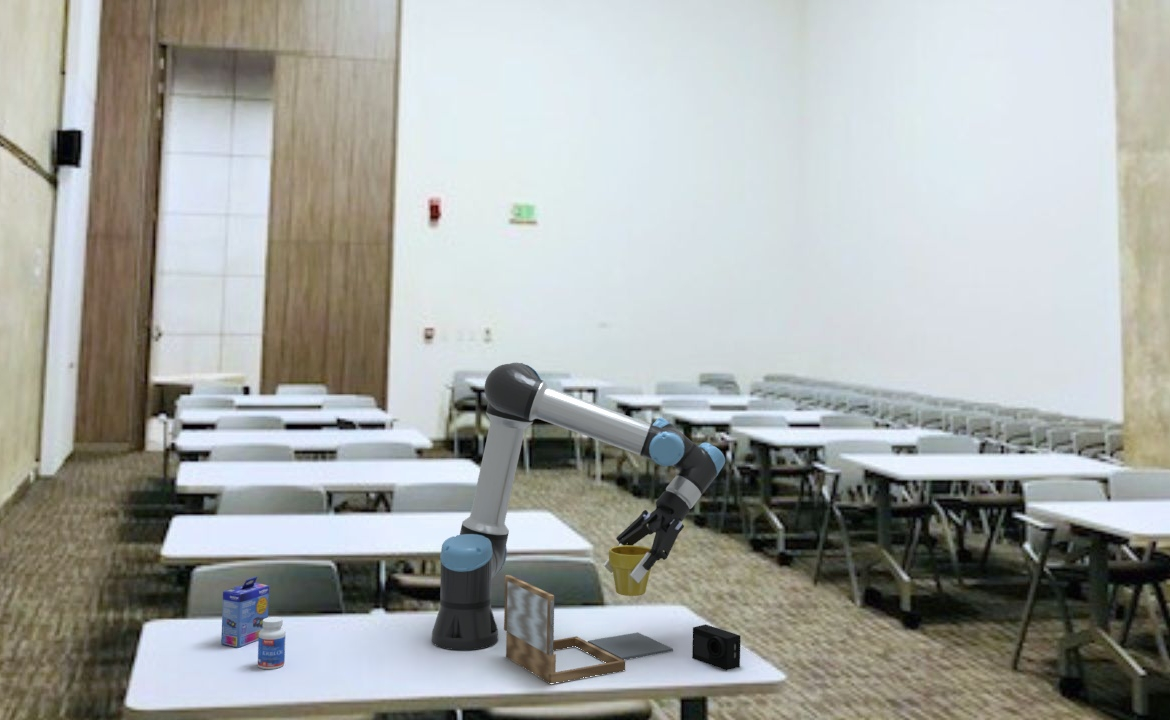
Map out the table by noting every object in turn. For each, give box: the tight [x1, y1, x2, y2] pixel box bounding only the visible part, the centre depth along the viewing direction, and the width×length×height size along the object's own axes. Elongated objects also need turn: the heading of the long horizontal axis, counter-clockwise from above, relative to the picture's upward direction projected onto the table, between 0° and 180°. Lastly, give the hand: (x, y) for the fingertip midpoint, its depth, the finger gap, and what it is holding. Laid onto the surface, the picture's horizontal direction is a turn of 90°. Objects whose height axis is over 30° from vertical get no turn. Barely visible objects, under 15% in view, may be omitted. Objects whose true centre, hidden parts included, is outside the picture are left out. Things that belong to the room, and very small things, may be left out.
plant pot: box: [608, 544, 655, 597], centre depth 222 cm, size 10×10×10 cm
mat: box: [587, 632, 674, 661], centre depth 223 cm, size 14×14×1 cm
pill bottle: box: [257, 616, 286, 670], centre depth 205 cm, size 6×5×10 cm
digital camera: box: [691, 624, 741, 672], centre depth 213 cm, size 10×5×7 cm, turn 39°
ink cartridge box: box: [220, 576, 270, 649], centre depth 222 cm, size 10×6×14 cm, turn 158°
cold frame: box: [503, 574, 626, 684], centre depth 210 cm, size 20×19×18 cm
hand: (620, 574), depth 221 cm, fingers closed on plant pot, 10 cm apart
